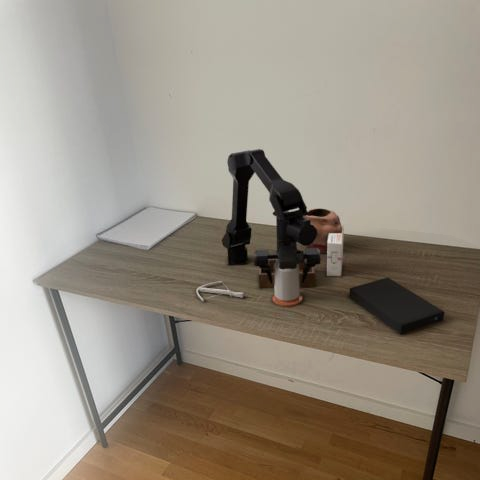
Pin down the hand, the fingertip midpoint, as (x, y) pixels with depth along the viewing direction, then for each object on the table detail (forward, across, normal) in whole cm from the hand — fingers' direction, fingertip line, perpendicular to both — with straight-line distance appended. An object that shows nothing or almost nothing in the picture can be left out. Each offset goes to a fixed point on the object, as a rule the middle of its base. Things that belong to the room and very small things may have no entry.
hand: (287, 283), depth 138 cm
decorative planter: (+6, +12, +37) cm, 39 cm away
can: (+5, 0, 0) cm, 5 cm away
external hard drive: (+6, +30, -7) cm, 31 cm away
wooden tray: (+5, 0, +14) cm, 15 cm away
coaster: (+5, 0, 0) cm, 5 cm away
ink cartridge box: (+6, +16, +18) cm, 25 cm away
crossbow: (+6, -21, +4) cm, 22 cm away
